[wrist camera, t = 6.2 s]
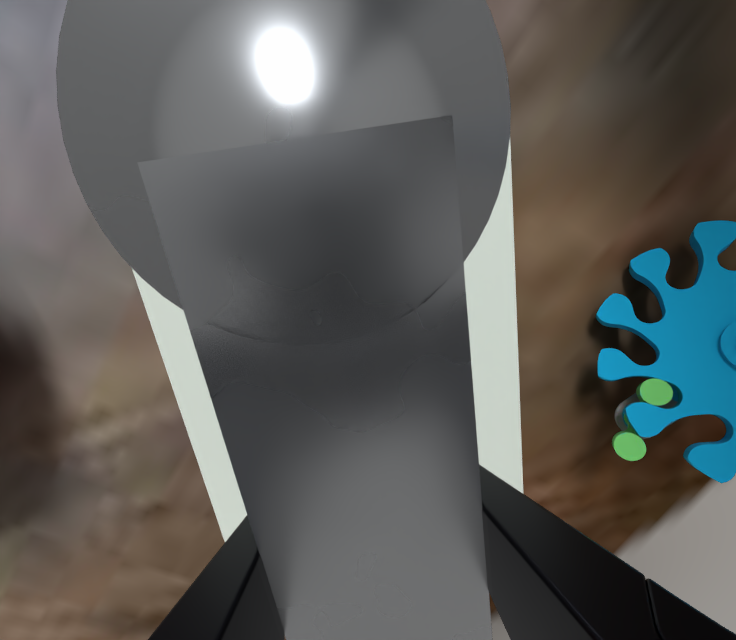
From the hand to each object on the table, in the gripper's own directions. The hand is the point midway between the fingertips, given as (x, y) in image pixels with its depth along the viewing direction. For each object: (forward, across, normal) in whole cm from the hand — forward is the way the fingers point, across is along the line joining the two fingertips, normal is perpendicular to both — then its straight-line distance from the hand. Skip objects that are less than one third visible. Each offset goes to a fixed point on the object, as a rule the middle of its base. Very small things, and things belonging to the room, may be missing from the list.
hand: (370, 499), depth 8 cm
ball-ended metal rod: (+2, 0, 0) cm, 2 cm away
